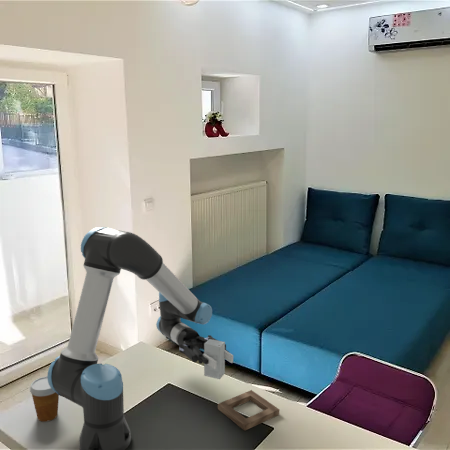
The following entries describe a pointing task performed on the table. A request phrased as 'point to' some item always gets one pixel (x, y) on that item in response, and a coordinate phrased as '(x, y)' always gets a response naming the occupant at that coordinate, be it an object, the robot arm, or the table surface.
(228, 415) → the square wooden frame
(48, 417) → the disposable coffee cup
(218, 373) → the skincare box
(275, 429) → the table surface
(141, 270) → the robot arm
